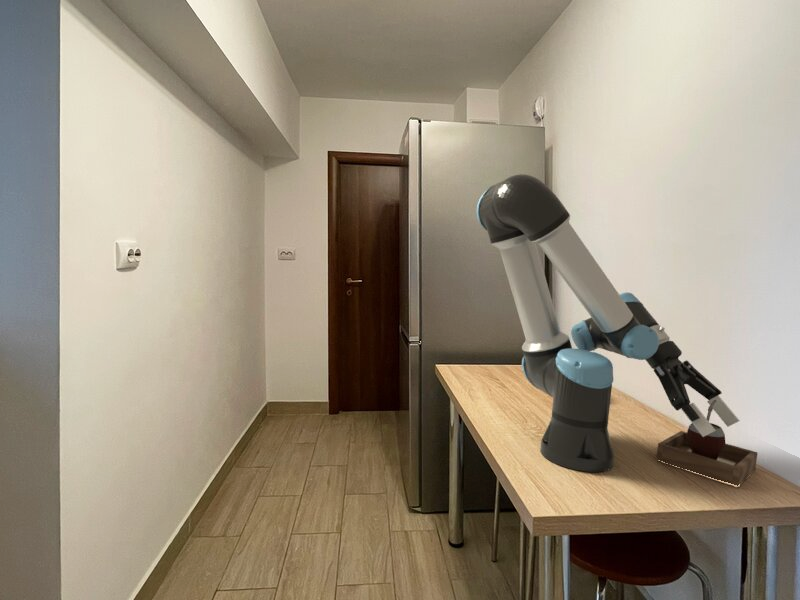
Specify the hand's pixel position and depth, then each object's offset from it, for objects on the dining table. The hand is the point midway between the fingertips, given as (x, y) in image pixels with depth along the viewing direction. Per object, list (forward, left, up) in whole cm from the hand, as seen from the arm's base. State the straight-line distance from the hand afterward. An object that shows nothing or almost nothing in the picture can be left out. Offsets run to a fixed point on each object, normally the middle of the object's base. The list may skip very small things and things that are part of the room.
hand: (722, 428), depth 97 cm
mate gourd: (-1, +2, -8) cm, 9 cm away
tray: (0, +2, -9) cm, 9 cm away
